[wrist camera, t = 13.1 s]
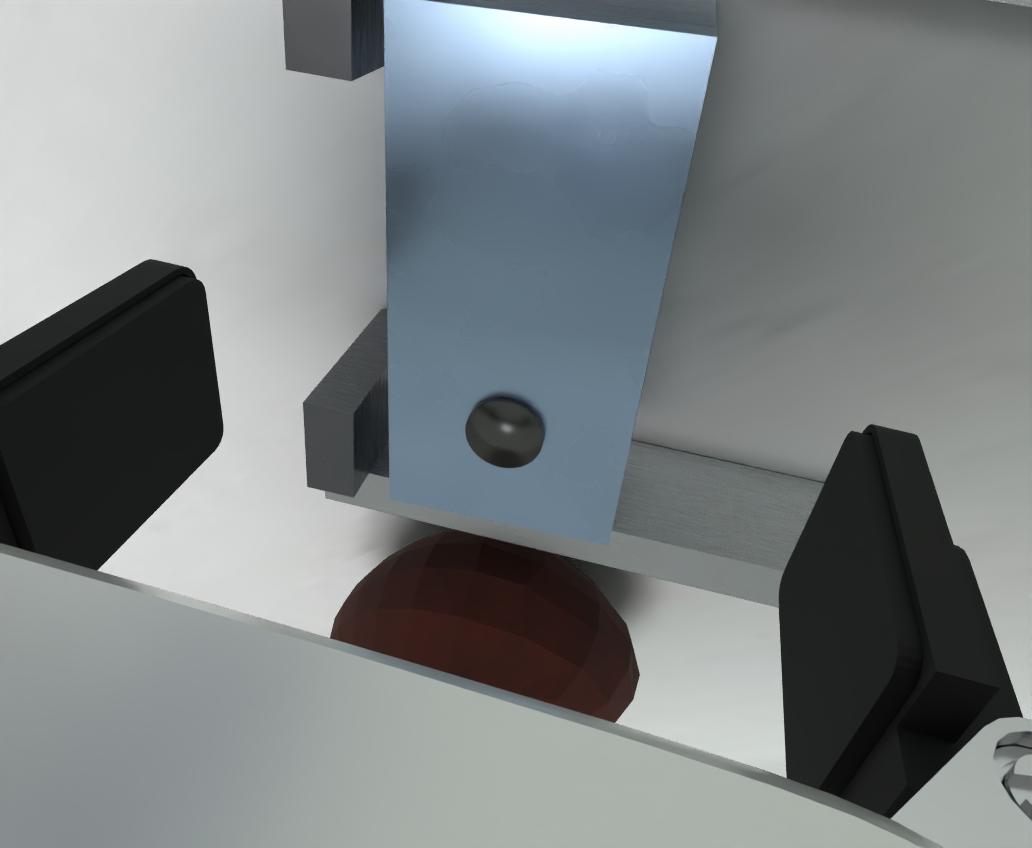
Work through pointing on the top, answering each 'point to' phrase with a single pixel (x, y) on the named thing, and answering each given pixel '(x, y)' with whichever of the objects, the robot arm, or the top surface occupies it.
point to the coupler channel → (649, 469)
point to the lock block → (531, 243)
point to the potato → (496, 621)
